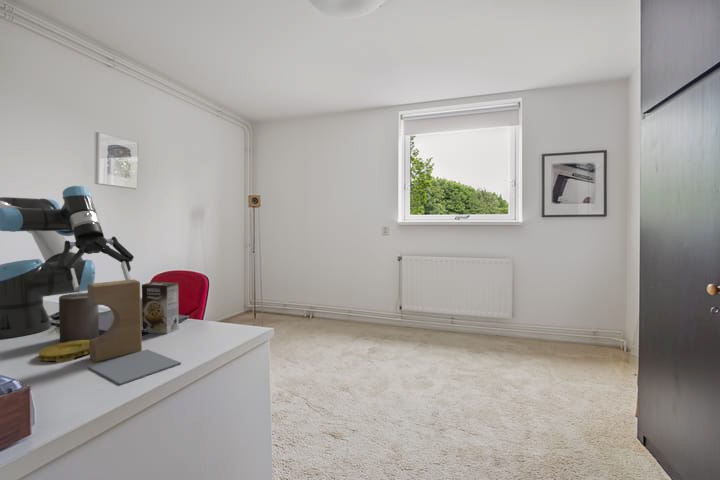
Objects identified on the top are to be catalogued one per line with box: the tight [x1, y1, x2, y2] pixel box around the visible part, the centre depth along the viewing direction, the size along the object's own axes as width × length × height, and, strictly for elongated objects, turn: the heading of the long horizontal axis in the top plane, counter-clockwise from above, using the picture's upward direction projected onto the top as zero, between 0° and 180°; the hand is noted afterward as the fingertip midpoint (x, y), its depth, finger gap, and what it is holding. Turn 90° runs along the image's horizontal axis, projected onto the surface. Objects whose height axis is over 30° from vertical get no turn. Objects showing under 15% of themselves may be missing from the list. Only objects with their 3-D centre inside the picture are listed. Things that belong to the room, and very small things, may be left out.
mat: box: [87, 349, 182, 386], centre depth 88 cm, size 17×14×1 cm
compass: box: [38, 340, 90, 363], centre depth 96 cm, size 12×12×2 cm
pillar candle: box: [58, 291, 100, 343], centre depth 108 cm, size 10×10×15 cm
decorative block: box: [87, 279, 143, 363], centre depth 95 cm, size 11×6×20 cm, turn 136°
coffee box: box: [141, 281, 180, 335], centre depth 117 cm, size 9×6×16 cm
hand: (103, 284), depth 110 cm, fingers open, 13 cm apart
